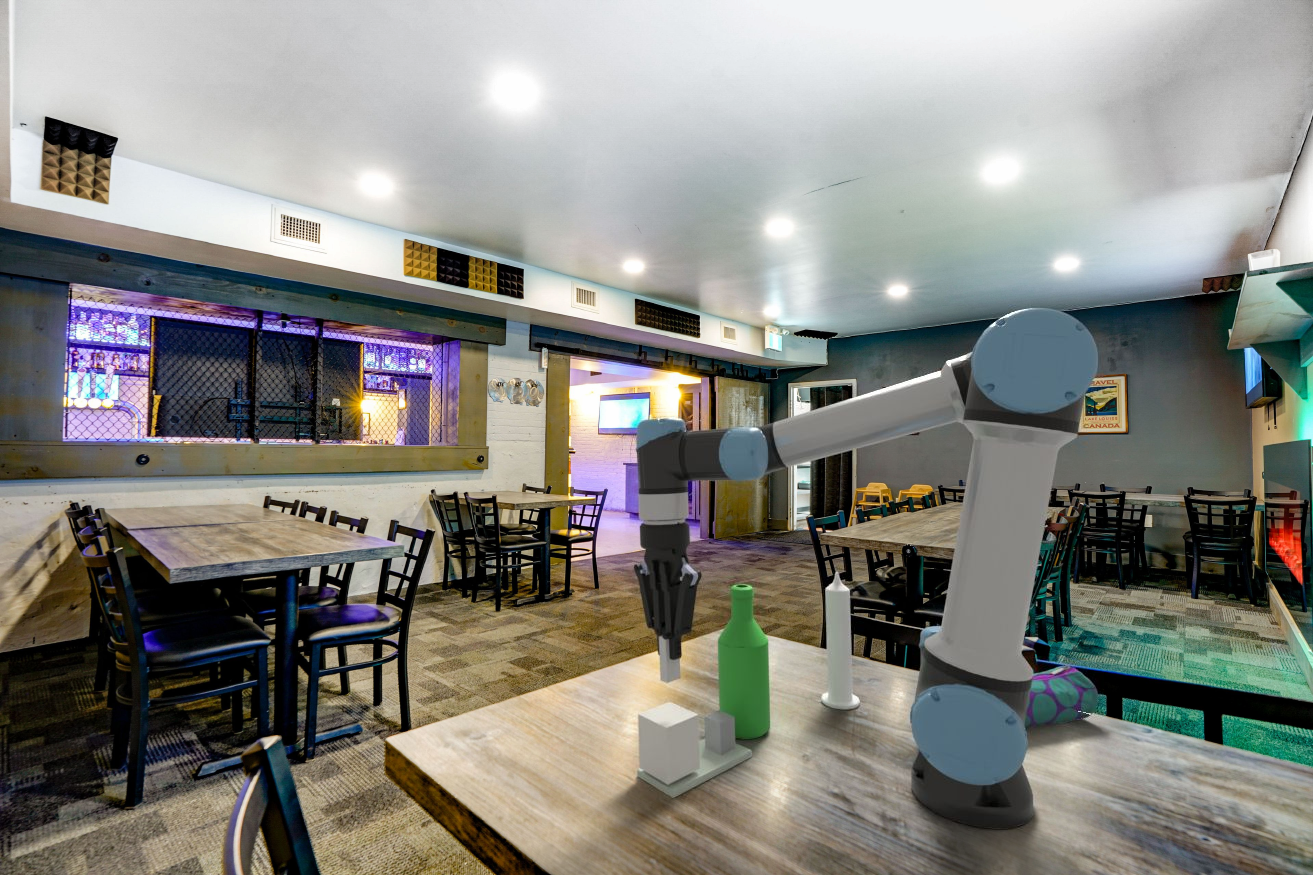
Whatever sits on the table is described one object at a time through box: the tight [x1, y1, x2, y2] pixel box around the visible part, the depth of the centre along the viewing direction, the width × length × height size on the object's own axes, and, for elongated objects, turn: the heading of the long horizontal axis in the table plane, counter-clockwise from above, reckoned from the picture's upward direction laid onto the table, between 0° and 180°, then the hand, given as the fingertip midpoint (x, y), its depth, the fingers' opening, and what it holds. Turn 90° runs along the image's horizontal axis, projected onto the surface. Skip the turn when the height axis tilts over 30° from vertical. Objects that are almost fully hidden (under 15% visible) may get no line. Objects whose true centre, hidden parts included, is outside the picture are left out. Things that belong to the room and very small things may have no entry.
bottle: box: [717, 584, 771, 740], centre depth 107 cm, size 9×9×25 cm
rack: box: [636, 709, 753, 799], centre depth 95 cm, size 8×17×6 cm, turn 131°
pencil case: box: [1025, 664, 1099, 729], centre depth 107 cm, size 21×9×10 cm, turn 106°
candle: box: [820, 571, 860, 711], centre depth 118 cm, size 7×7×25 cm
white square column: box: [637, 701, 700, 785], centre depth 92 cm, size 6×6×8 cm
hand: (670, 679), depth 92 cm, fingers closed
